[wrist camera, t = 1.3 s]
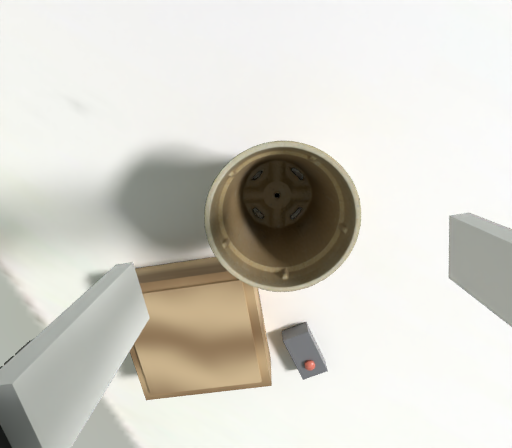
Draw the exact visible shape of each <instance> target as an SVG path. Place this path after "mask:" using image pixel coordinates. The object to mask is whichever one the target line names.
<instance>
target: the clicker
mask: <svg viewBox="0 0 512 448" xmlns="http://www.w3.org/2000/svg"><path fill="white" fill-rule="evenodd" d="M282 336H283V342H284V344H285V346H286V348H287V350H288V352H289V353H290V355H291V357H292V359H293V361H294V363H295V365H296V367H297V369H298V371H299V373H300V375H301V376H302V378H303V379H306V378H309V377H312V376H315V375H318V374H320V373H323V372H326V371H328V370H327V367H326V363H325V360H324V357H323V355H322V353H321V351H320V349H319V347H318V345H317V343H316V341H315V339H314V337H313V335H312V333H311V331H310V329H309V327H308V325H307V322H305V323H302V324H299V325H297V326H294V327H292V328H289V329H286V330H284V331H282Z"/></svg>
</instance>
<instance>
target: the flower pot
mask: <svg viewBox="0 0 512 448" xmlns="http://www.w3.org/2000/svg"><path fill="white" fill-rule="evenodd" d="M292 168H296V169H298V170H299V171H300V172H301V173H302V175H303V179H301V180H300V179H299V178H298V176H296V175H295V174H294V173H293V172H292V171H291V169H292ZM259 171H263V172H262V173H261V174H260V178H259V177H258V178H257V179H255V180H253V179H252V178H253V177H254V176H255V175H256V174H257V173H258V172H259ZM276 193H279V194H280V196H279V197H278V198H276V197H275V194H276ZM299 207H300V208H302V209H301V210H300V213H299V214H298V215H297V216H296V217H295V218H294V219H291V214H293V213H294V212H295V211H296V210H297V209H298V208H299ZM254 208H257V209H258V210H259V211H260V212H261V213H262V214H263V215H264V217H263V218H262V219H261V218H258V217H257V216H256V214H255V213H254V212H253V210H252V209H254ZM204 215H205V217H204V223H205V230H206V234H207V239H208V242H209V244H210V247H211V249H212V251H213V253H214V255H215V256H216V258H217V259H218V261H219V262H220V263H221V265H222V266H223V267H224V268H225V269H226V270H227V271H228V272H229V273H231V274H232V275H233V276H235V277H236V278H237V279H239V280H240V281H242V282H244V283H246V284H248V285H250V286H253V287H257V288H260V289H263V290H267V291H273V292H290V291H296V290H300V289H304V288H308V287H310V286H313V285H315V284H317V283H318V282H320V281H322V280H324V279H326V278H327V277H328V276H330V275H331V274H332V273H334V272H335V271H336V270H337V269H338V268H339V267H340V266H341V265H342V264H343V262H344V261H345V260H346V259H347V258H348V256H349V254H350V253H351V251H352V249H353V247H354V245H355V243H356V240H357V237H358V234H359V230H360V226H361V206H360V198H359V195H358V193H357V190H356V187H355V185H354V183H353V181H352V179H351V178H350V176H349V175H348V173H347V172H346V171H345V170H344V168H343V167H342V166H341V165H340V164H339V163H338V162H337V161H335V160H334V159H333V158H332V157H330V156H329V155H328V154H326V153H325V152H323V151H321V150H319V149H317V148H315V147H313V146H310V145H307V144H303V143H299V142H294V141H274V142H268V143H263V144H260V145H257V146H254V147H252V148H249V149H248V150H245V151H244V152H242V153H240V154H239V155H237V156H236V157H235V158H233V159H232V160H231V161H230V162H229V163H228V164H227V165H226V166H225V167H224V168H223V169H222V170H221V171H220V173H219V174H218V176H217V177H216V179H215V180H214V182H213V184H212V186H211V188H210V190H209V193H208V196H207V199H206V204H205V212H204Z"/></svg>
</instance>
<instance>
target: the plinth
mask: <svg viewBox="0 0 512 448" xmlns="http://www.w3.org/2000/svg"><path fill="white" fill-rule="evenodd" d="M135 270H136V274H137V277H138V280H139V284H140V287H141V291H142V294H143V297H144V301H145V304H146V307H147V311H148V314H149V317H150V318H149V320H148V322H147V323H146V325H145V327H144V328H143V330H142V332H141V333H140V335H139V337H138V338H137V340H136V341H135V343H134V345H133V346H132V348H131V350H130V354H131V357H132V360H133V363H134V366H135V368H136V371H137V374H138V377H139V380H140V383H141V386H142V389H143V392H144V395H145V398H146V400H151V399H160V398H169V397H177V396H186V395H195V394H203V393H212V392H221V391H230V390H238V389H247V388H256V387H264V386H271V358H270V353H269V347H268V342H267V336H266V331H265V325H264V320H263V314H262V309H261V303H260V297H259V292H258V288H257V287H253V286H250V285H248V284H246V283H244V282H242V281H240V280H239V279H237V278H236V277H235V276H233V275H232V274H231V273H229V272H228V271H227V270H226V269H225V268H224V267H223V266H222V265H221V263H220V262H219V261H218V259H217V258H216V257H211V258H204V259H198V260H191V261H184V262H177V263H170V264H163V265H156V266H149V267H142V268H135Z"/></svg>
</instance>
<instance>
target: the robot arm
mask: <svg viewBox="0 0 512 448" xmlns="http://www.w3.org/2000/svg"><path fill="white" fill-rule="evenodd" d="M449 279H451V280H452V281H453V282H455V283H456V284H457V285H458V286H460V287H461V288H462V289H464V290H465V291H466V292H467V293H469V294H470V295H471V296H473V297H474V298H475V299H476V300H478V301H479V302H480V303H482V304H483V305H484V306H485V307H487V308H488V309H489V310H491V311H492V312H493V313H494V314H496V315H497V316H498V317H500V318H501V319H502V320H503V321H505V322H506V323H507V324H509V325H510V326H511V327H512V229H510V228H507V227H505V226H502V225H499V224H497V223H494V222H492V221H489V220H487V219H484V218H481V217H479V216H476V215H474V214H471V213H464V214H458V215H451V216H449ZM149 318H150V317H149V314H148V311H147V307H146V304H145V301H144V297H143V294H142V291H141V287H140V284H139V280H138V277H137V274H136V270H135V267H134V264H133V262H131V263H125V264H118V265H115V266H114V267H113V268H112V269H111V270H110V271H108V272H107V273H106V274H105V275H104V276H103V277H102V278H101V279H100V280H98V281H97V282H96V283H95V284H94V285H93V286H92V287H91V288H90V289H88V290H87V291H86V292H85V293H84V294H83V295H82V296H81V297H80V298H78V299H77V300H76V301H75V302H74V303H73V304H72V305H71V306H70V307H69V308H67V309H66V310H65V311H64V312H63V313H62V314H61V315H60V316H59V317H57V318H56V319H55V320H54V321H53V322H52V323H51V324H50V325H49V326H47V327H46V328H45V329H44V330H43V331H42V332H41V333H40V334H39V335H38V336H36V337H35V338H34V339H33V340H31V341H29V342H28V343H27V344H26V345H25V346H23V347H22V348H21V349H20V350H19V351H18V352H17V353H16V354H15V356H12V357H11V358H10V359H9V360H8V361H7V362H5V363H4V366H1V367H0V448H71V447H72V445H73V444H74V442H75V440H76V439H77V437H78V435H79V434H80V432H81V430H82V429H83V427H84V425H85V424H86V422H87V420H88V419H89V417H90V416H91V414H92V412H93V410H94V409H95V407H96V406H97V404H98V402H99V401H100V399H101V397H102V396H103V394H104V392H105V391H106V389H107V388H108V386H109V384H110V383H111V381H112V379H113V378H114V376H115V374H116V373H117V371H118V369H119V368H120V366H121V364H122V363H123V361H124V360H125V358H126V356H127V355H128V353H129V351H130V350H131V348H132V346H133V345H134V343H135V341H136V340H137V338H138V337H139V335H140V333H141V332H142V330H143V328H144V327H145V325H146V323H147V322H148V320H149Z"/></svg>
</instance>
